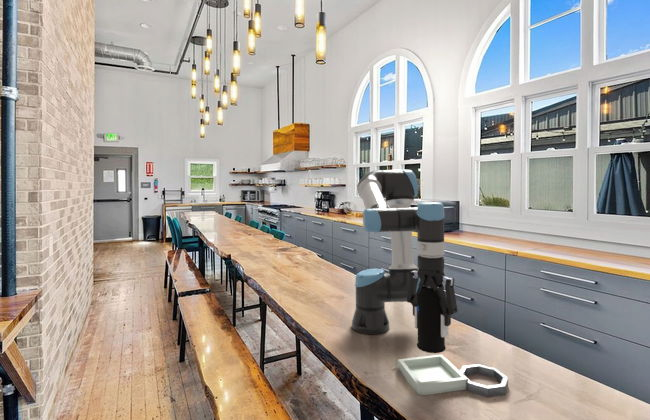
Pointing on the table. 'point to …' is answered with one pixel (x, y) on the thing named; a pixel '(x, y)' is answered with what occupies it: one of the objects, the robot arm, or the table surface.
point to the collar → (483, 389)
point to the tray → (432, 374)
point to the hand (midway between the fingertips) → (431, 331)
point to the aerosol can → (429, 321)
